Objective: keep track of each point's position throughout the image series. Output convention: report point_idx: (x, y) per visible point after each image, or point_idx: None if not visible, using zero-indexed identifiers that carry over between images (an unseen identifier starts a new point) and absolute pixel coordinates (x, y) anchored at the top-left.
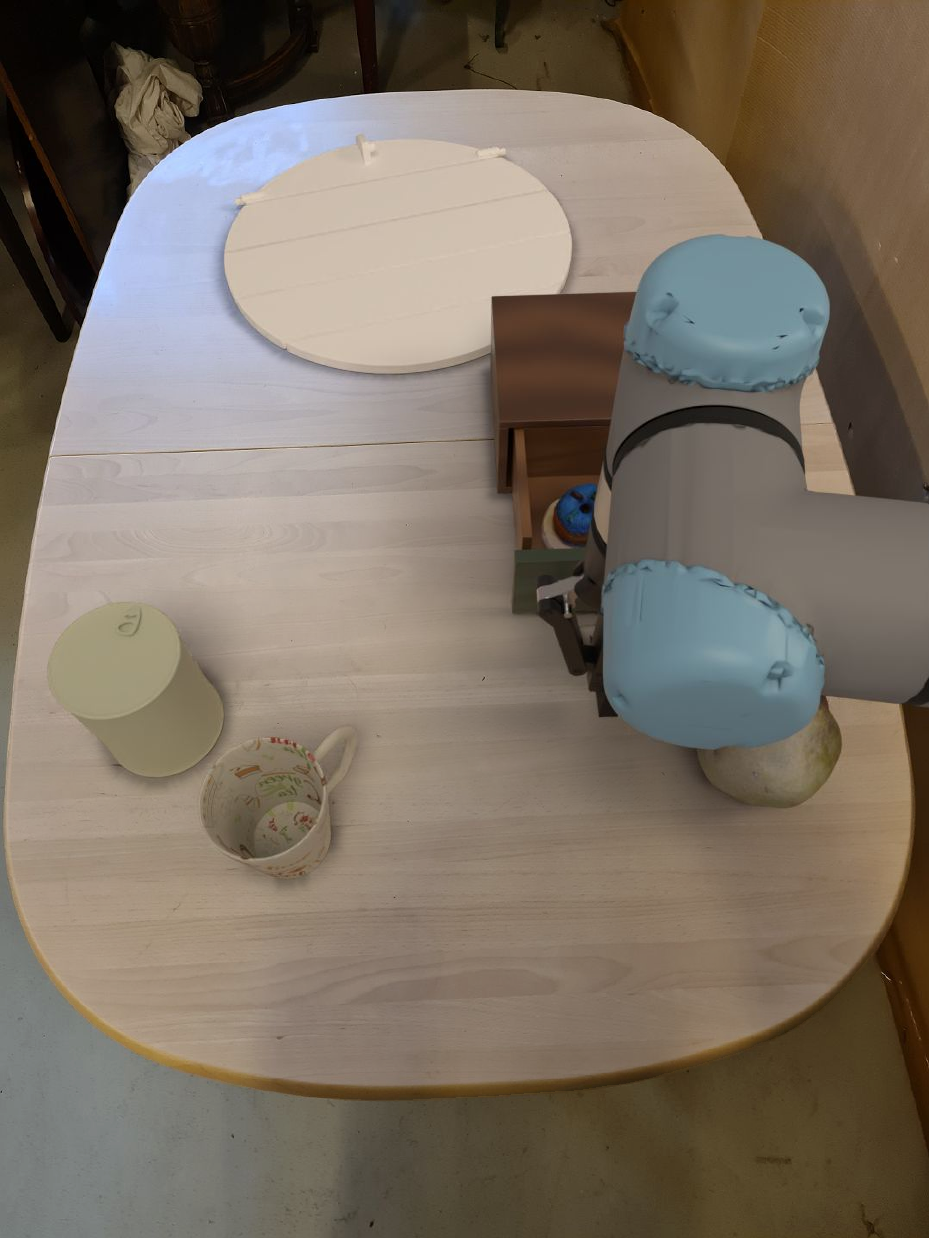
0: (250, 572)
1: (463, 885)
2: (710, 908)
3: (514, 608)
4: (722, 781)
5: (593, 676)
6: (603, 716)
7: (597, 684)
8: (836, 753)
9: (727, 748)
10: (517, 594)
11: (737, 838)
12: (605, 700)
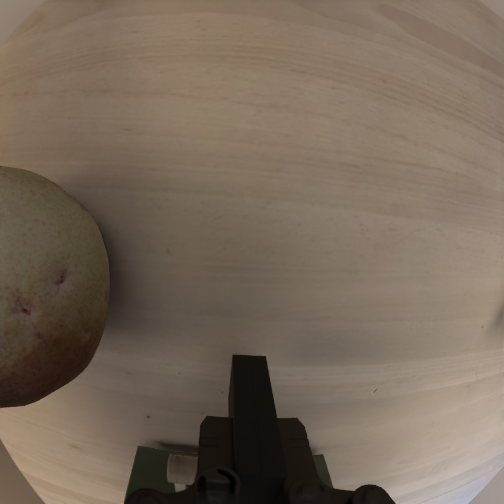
0: (481, 437)
1: (462, 145)
2: (151, 47)
3: (323, 461)
4: (65, 215)
5: (312, 470)
6: (258, 357)
7: (292, 441)
8: None
9: (32, 280)
10: (328, 485)
11: (85, 142)
12: (271, 403)
